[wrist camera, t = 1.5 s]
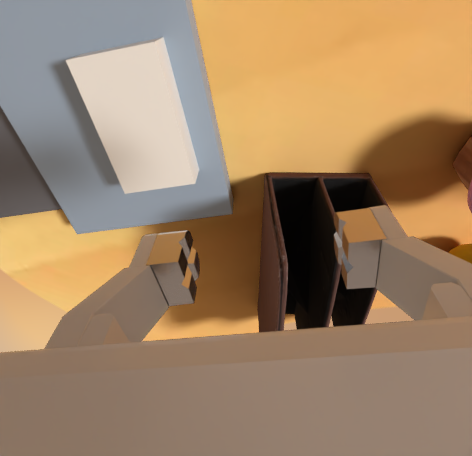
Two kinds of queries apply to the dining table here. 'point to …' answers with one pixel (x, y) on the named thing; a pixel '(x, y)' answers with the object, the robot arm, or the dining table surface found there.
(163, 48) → the tile
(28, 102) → the panel
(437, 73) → the dining table surface
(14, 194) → the mat
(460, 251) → the lemon
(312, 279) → the letter holder
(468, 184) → the cupcake
